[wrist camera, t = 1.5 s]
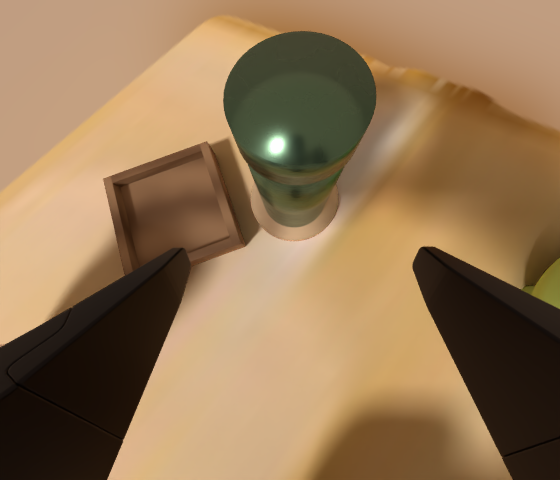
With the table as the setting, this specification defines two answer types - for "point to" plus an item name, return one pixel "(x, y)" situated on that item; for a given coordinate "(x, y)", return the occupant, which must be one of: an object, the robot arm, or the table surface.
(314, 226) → the cork coaster
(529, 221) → the table surface
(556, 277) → the teapot
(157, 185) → the walnut tray
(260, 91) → the tea canister
